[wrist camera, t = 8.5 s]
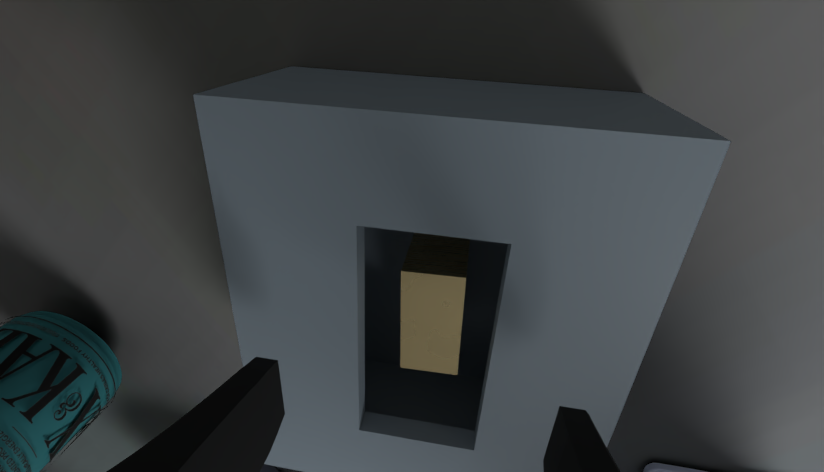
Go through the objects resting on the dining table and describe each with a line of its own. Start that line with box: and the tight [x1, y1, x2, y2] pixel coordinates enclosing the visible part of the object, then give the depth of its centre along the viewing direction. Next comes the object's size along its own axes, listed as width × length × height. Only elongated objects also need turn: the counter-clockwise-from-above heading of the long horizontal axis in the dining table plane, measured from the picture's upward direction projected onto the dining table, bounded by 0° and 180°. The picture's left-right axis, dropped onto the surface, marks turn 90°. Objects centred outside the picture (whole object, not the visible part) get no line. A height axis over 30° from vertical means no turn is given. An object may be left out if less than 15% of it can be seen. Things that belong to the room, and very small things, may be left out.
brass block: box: [400, 233, 470, 375], centre depth 16 cm, size 4×2×4 cm, turn 179°
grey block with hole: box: [193, 66, 731, 472], centre depth 15 cm, size 14×12×6 cm
